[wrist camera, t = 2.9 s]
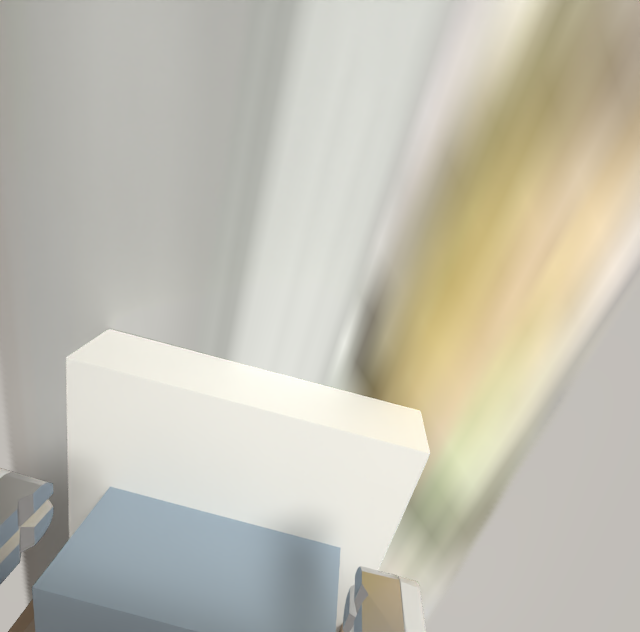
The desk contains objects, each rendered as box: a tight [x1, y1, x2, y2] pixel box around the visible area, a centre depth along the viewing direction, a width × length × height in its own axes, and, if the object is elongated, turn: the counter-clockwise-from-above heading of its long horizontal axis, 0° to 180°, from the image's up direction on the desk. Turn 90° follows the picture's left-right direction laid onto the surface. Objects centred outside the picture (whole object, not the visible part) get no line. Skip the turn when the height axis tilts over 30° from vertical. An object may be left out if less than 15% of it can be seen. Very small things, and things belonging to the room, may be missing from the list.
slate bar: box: [32, 487, 341, 632], centre depth 15 cm, size 4×10×4 cm, turn 77°
